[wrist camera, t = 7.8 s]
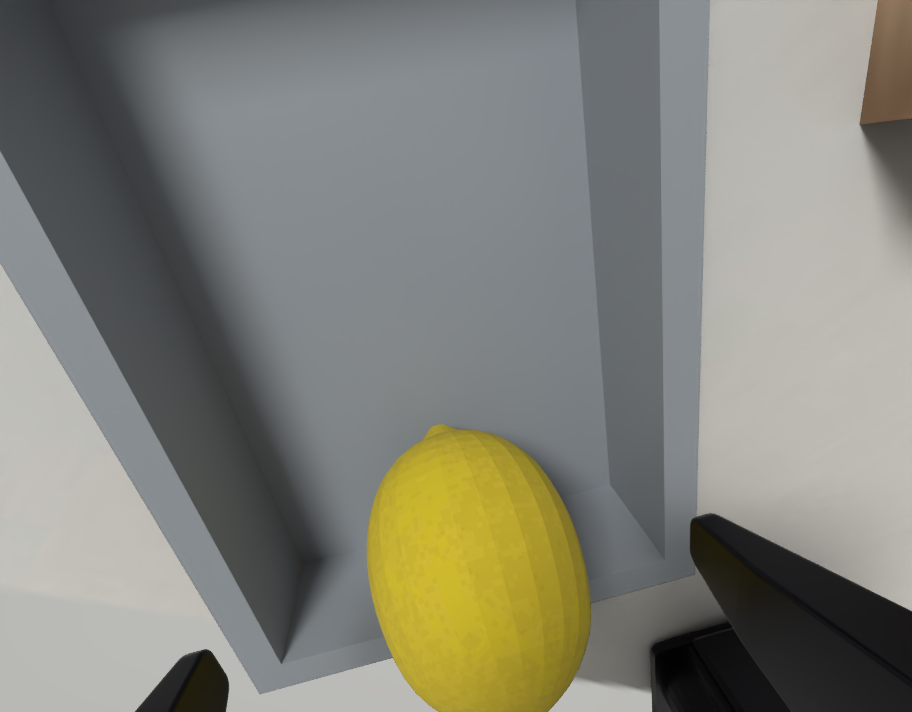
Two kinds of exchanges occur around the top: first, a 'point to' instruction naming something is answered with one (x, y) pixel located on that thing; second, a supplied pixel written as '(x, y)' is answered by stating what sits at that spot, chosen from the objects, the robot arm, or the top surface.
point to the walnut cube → (889, 64)
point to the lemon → (477, 575)
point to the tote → (364, 272)
